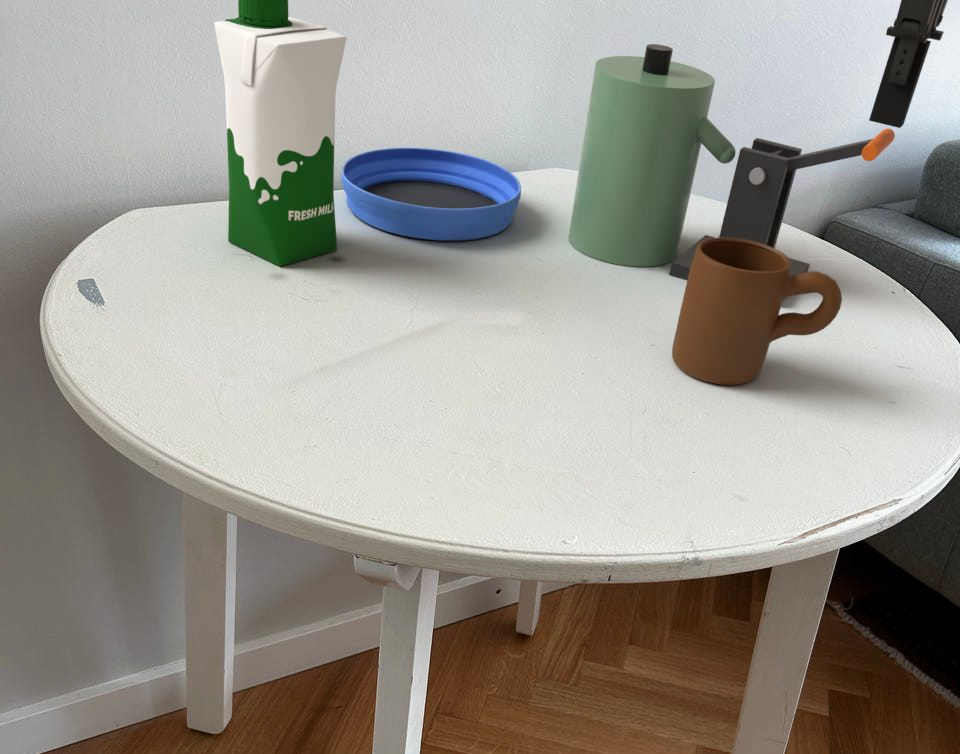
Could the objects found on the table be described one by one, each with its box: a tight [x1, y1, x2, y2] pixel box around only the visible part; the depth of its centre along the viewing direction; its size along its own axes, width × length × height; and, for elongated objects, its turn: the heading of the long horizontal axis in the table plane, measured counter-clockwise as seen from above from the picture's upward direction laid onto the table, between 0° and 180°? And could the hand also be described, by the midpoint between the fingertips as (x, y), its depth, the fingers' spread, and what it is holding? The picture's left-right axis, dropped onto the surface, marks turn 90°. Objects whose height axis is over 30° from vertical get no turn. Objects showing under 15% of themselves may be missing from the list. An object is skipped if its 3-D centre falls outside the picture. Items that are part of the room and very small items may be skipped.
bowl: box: [340, 147, 522, 242], centre depth 112 cm, size 18×18×4 cm
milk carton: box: [213, 0, 348, 267], centre depth 96 cm, size 9×9×20 cm
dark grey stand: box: [668, 137, 811, 303], centre depth 105 cm, size 11×10×12 cm
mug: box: [671, 237, 843, 386], centre depth 89 cm, size 12×8×9 cm, turn 74°
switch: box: [771, 128, 896, 177], centre depth 100 cm, size 12×7×2 cm, turn 62°
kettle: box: [568, 43, 737, 268], centre depth 105 cm, size 15×11×18 cm
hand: (886, 122), depth 96 cm, fingers closed
